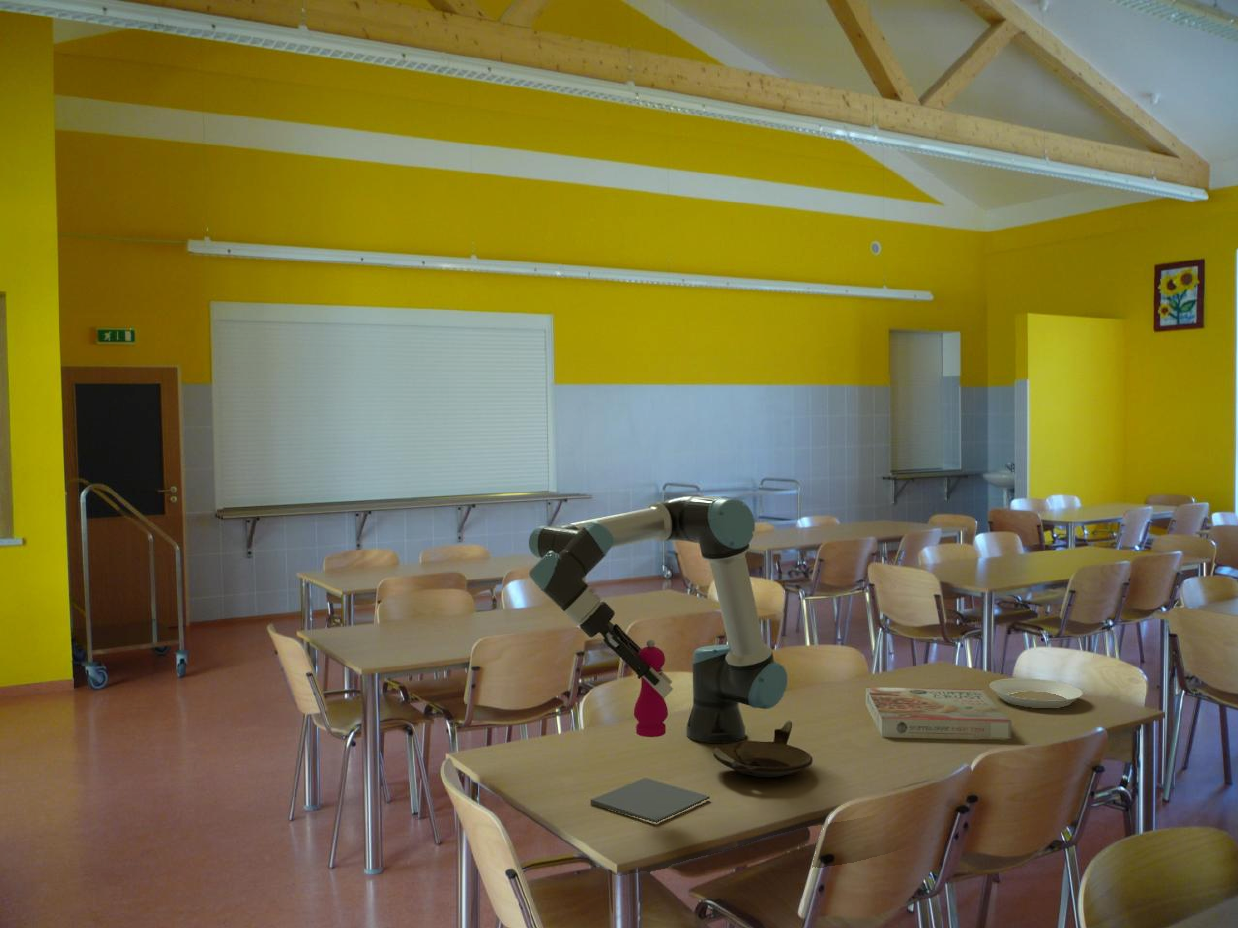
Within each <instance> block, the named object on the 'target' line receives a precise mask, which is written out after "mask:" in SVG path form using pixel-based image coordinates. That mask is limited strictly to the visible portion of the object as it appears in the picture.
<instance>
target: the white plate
mask: <svg viewBox="0 0 1238 928" xmlns="http://www.w3.org/2000/svg"><path fill="white" fill-rule="evenodd" d="M989 687H990V689H992V690H993V691H994V693H996V694H997V695H998V696H999V697H1000V699H1001V700H1003V701H1004V702H1005V701H1006V702H1005V703H1007V702H1008V704H1010V703H1011V704H1010V705H1013V704H1014V705H1013V706H1016V705H1020V706H1019V707H1021V706H1025V707H1024V708H1027V707H1032V708H1031V709H1035V708H1057V707H1064V706H1067V707H1068V705H1069V706H1070V705H1071V704H1072V703H1073V702H1075V701H1076V700H1077V699H1078V698H1080V697H1081V696H1083V695H1084V692H1083V690H1082V689H1080V688H1079V687H1077V686H1074V685H1072V684H1069V683H1064V682H1061V681H1055V680H1050V679H1043V678H1042V679H1041V678H1031V677H1030V678H1023V677H1022V678H1021V677H1020V678H1019V677H1017V678H1014V677H1012V678H1002V679H998V680H993V681H992V682H990V683H989ZM1027 691H1033V692H1034V691H1035V692H1047V693H1051V694H1056V695H1059V696H1062V697H1064V698H1066V699H1067V700H1035V699H1026V698H1019V697H1014V696H1009V694H1014V693H1018V692H1027ZM1064 708H1065V707H1064Z"/></svg>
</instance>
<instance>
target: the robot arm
mask: <svg viewBox="0 0 1238 928" xmlns="http://www.w3.org/2000/svg"><path fill="white" fill-rule="evenodd" d="M755 523H756V522H755V517H754V515H753V512H752V510H751V509H750V507H749V506H748V505H747V504H746V503H745V502H743V501H742V500H740V499H737V498H734V497H729V496H723V495H722V496H715V495H713V496H712V495H711V496H710V495H700V494H690V495H689V494H688V495H682V496H680V497H675V498H670V499H667V500H666V499H665V500H662V501H658V502H657V501H656V502H653V503H651V504H649V505H648V507H646V508H643V509H638V510H633V511H628V512H624V513H619V514H614V515H608V516H603V517H599V518H598V517H597V518H592V519H587V520H582V521H578V522H577V521H576V522H572V523H569V524H568V523H567V524H561V525H557V526H551V525H540V526H538V527H536V528H534V529H533V530H532V531H531V533H530V535H529V538H528V539H529V540H528V547H529V550H530V552H531V554H532V555H534V556H535V557H536V558H538V559H539V560H538V561H537V562H536V563H535V565H534V566H532V568H531V569H530V570H529V578H530V579H531V580H532V581H533V583H535V585H536V586H537V587H538V588H539V590H540V591H541V592H543V593H544V594H545V595H546V596H548V597H549V599H550V600H551V601H552V602H553V603H555V604H556V605H557V606H558V607H559V608H560V609H561V611H563V613H564V614H565V615H566V616H567V617H568V618H569V619H570V620H571V621H572V622H573V623H574V624H575V625H579V629H581V631H582V632H584V633H585V634H586V635H587V636H588V637H589V638H594V637H595V636H597V634H601V636H602V637H603V642H604V643H605V644H606V646H607V647H609V648H610V650H612V651H613V652H614V653H615V654H617V656H618V657H619V658H620V659H621V660H622V661H623V662H624V663H625V664H626V665H627V666H628V667H629V668H631V669H630V670H632V671H634V673H635V674H636V675H637V679H639V680H641V677H643V678H644V679H645V680H646V681H647V682H648V683H649V684H650V685H651V686H652V687H653V688H654V689H655V690H656V691H657V692H658V693H659V694H660V695H661V696H662V697H663V698H664V699H665V698H666V697H667V696H668V695H669V694H670V693H671V692H672V691H673V690H674V688H673V687H672V686H671V685H672V683H673V680H672V679H671V678H670V677H669V676H668V675H667V674H665V672H662V675H663V676H662V677H661V676H660V675H659V674H658V673H657V672H656V671H655V670H654V669H653V668H652V667H650V666H649V665H647V664H646V663H645V662H644V660H643V659H642V658H641V657H640V656H639V655H638V652H639V651H640V650H641V649H642V648H641V646H639V645H638V644H637V643H636V642H635V641H634V640H633V639H632V638H631V637H630V636H629V635H628V634H627V633H626V632H625V631H624V630H623V629H622V628H621V626H620V625H619V624H617V623H615V624H614V623H612V622H611V621H612V620H613V618H614V617H615V614H616V613H615V610H614V609H613V608H612V607H610V605H609V604H608V603H607V602H605V601H601V599H602V598H601V597H600V596H599V595H598V594H597V593H596V592H597V589H596V588H595V587H593V588H591V587H590V586H589V584H587V583H586V581H584V579H585V578H586V576H588V574H589V573H591V571H592V570H593V569H594V568H595V567H596V566H597V565H598V564H599V563H601V561H602V560H603V558H605V557H606V556H607V554H608V552H610V550H611V549H614V548H618V547H619V548H620V547H623V546H628V545H633V544H638V543H642V542H645V541H646V542H647V541H650V540H652V541H653V540H654V541H657V542H660V543H661V542H666V541H683V542H689V543H695V544H699V545H698V546H699V548H700V552H701V556H702V559H704V560H706V561H708V562H709V564H710V568H711V574H712V576H713V577H712V578H713V582H714V587H715V591H716V595H717V599H718V603H719V609H720V613H721V614H720V615H721V618H722V623H723V626H724V631H725V635H726V639H727V644H715V645H714V644H712V645H705V646H702V647H698V648H696V649H695V650H694V652H693V657H692V659H693V660H692V663H691V665H692V701H693V702H692V708H691V710H690V715H689V717H688V721H687V723H686V734H685V735H686V737H688V738H689V739H691V740H693V741H696V740H697V741H696V742H700V741H701V742H700V743H705V742H706V744H728V743H729V742H730V743H735V741H736V742H740V741H741V740H743V739H745V737H746V726H745V724H744V720H743V716H742V712H741V710H740V707H739V706H740V705H739V704H743V705H746V706H750V707H751V708H754V709H762V710H769V709H772V708H774V707H775V706H776V705H777V704H779V703H780V701H781V700H782V699H783V697H784V694H785V693H786V689H787V687H788V674H787V669H786V668H785V666H783V665H782V664H781V663H780V662H776V661H775V658H774V655H773V650H772V648H771V646H769V645H768V644H766V643H765V642H764V636H763V634H762V633H763V631H762V627H761V623H760V619H759V614H758V610H757V605H756V604H757V603H756V600H755V595H754V591H753V586H752V581H751V577H750V573H749V568H748V567H749V566H748V563H747V558H746V553H747V552H748V551H749V549H750V542H751V541H752V539H753V537H754V534H753V532H755V529H756V528H755V527H756V524H755ZM641 666H642V667H641ZM640 667H641V668H640Z"/></svg>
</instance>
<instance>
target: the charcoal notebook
mask: <svg viewBox="0 0 1238 928" xmlns="http://www.w3.org/2000/svg"><path fill="white" fill-rule="evenodd" d="M710 797H711V795H706V794H703V793H700V792H696V791H692V790H689V789H686V788H684V787H683V788H682V787H679V786H676V785H675V786H674V785H673V784H668V783H664V782H661V781H658V780H654V779H651V778H647V777H644V778H641V779H639V780H637V781H633V782H631V783H628V784H626V785H624V786H622V787H618V788H616V789H614V790H611V791H609V792H607V793H604V794H601V795H599V796H595V797H593V798H591V799H590V805H591V804H592V806H595V805H596V806H595V807H598V806H599V807H598V808H601V807H603V808H602V809H604V808H606V809H605V810H607V809H610V810H613V811H616V812H620V813H623V814H627V815H630V816H635V817H638V818H642V819H645V820H649V821H652V822H656V823H657V822H659V821H661V820H663V819H666V818H668V817H670V816H672V815H675V814H677V813H679V812H682V811H684V810H686V809H688V808H690V807H692V806H694V805H696V804H699V803H701V802H702V801H704V800H707V799H709V798H710ZM710 799H711V798H710ZM610 810H609V811H610ZM613 811H612V812H613ZM616 812H615V813H616Z"/></svg>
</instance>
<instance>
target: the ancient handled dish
mask: <svg viewBox="0 0 1238 928" xmlns="http://www.w3.org/2000/svg"><path fill="white" fill-rule="evenodd" d="M792 728H793V722H792V721H791V720H787V721H786V722H785V723H784V725H783V726H782V727H781V728H775V729H774V732H773V733H774V736H773V741H759V740H757V741H756V740H742V741H741V740H739V741H737V743H736V744H734V745H733V744H732V745H731V749H732V750H733V752H734V753H735V755H736V757H737V758H738V759H739V760H740V762H739V761H737V760H735V759H733V758H732V757H731V756H730V757H729V756H728V754H726V753H724V752H723V751H721V749H720V748H718V747H715V748H714V749H713V750H712V754H713V757H714V759H716V760H717V761H718V762H719V763H721V764H723V765H724V766H726V767H727V768H729V769H732V770H734V771H737V772H739V773H741V774H745V775H749V776H752V777H759V778H777V777H782V776H784V777H785V776H786V775H791V774H793V773H797V772H799V771H802V770H803V769H806V768H808V767H809V766H811V765H812V764H813V761H814V760H813V759H814V758H813V757H812V755H811V754H810V753H808V752H806V751H805V750H804V749H801V748H799V747H796V746H792V745H789V744H788V742H789V739H790V736H791V732H792ZM754 764H755V765H756V766H754Z"/></svg>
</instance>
